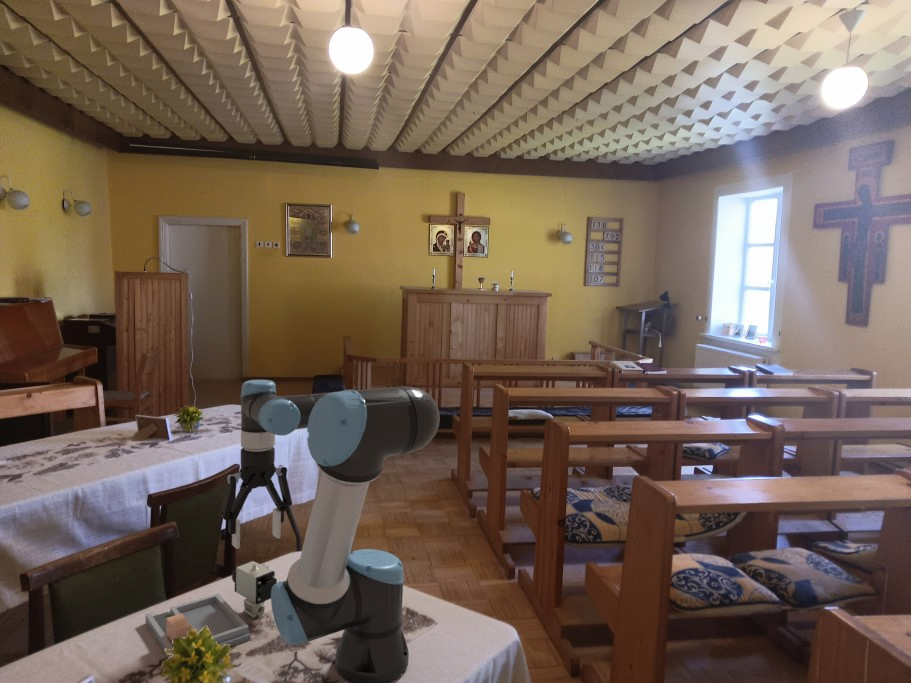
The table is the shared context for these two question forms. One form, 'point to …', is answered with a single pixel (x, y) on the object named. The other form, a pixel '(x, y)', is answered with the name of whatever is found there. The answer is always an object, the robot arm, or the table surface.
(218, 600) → the grey tray
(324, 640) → the table surface
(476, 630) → the table surface
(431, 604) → the table surface
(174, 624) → the tan cardboard box
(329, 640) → the table surface
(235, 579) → the pneumatic valve
